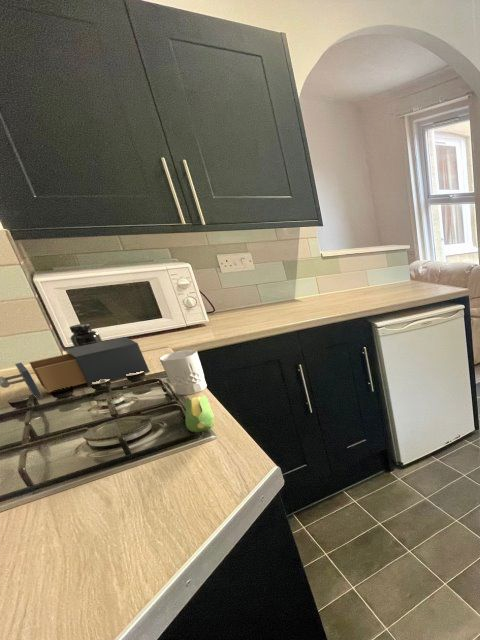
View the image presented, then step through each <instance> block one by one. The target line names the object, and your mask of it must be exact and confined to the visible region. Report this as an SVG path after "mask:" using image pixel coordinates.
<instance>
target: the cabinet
mask: <svg viewBox="0 0 480 640" xmlns="http://www.w3.org/2000/svg"><path fill="white" fill-rule="evenodd" d="M65 352H66V354H70V355H71V356H73V357H74V358H75V359H76V361H77V363H78V365H79V367H80V369H81V371H82V373H83V375H84V377H85V379H86V381H87V383H85V384H86V386H88V387H89V388H92V387H91V384H92V382H96V381H99V380H100V379H110V381H111V382H116V381H120V380H123V379H127V378H126V374H129V373H136V372H140V371H144V372H145V373H144V374H146V373H149V372H150V369H149V367H148V364H147V362H146V360H145V357H144V355H143V353H142V350H141V348H140V346H139V343H138V342H137V341H135V340H132V339H130V338H128V337H126V336H122V337H117V338H113V339H107V340H104V341H103V340H102V342H98V343H93V344H88V345H84V346H79V347H74V346H73V347H71V348H66V349H65ZM111 382H110V383H111Z"/></svg>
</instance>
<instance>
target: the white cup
mask: <svg viewBox="0 0 480 640" xmlns="http://www.w3.org/2000/svg"><path fill="white" fill-rule="evenodd" d="M159 361H160V364H161V366H162V367H163V369H164V372H165V374H166V376H167V378H168V380H169V382H170V384H171V385H172V387H173V389H174V392H175V393H176V394H177V395H178V396H188V395H189V396H190V395H192V394H197V393H199V392H202V391H204V390H206V389H207V386H208V384H207V382H206V379H205V373H204V370H203V366H202V364H201V360H200V357H199V354H198V350H195V349H184V350H178V351H177V350H176V351H172V352H169V353H167V354H163V355H162V356H160V357H159Z"/></svg>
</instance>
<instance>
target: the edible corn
mask: <svg viewBox="0 0 480 640" xmlns="http://www.w3.org/2000/svg"><path fill="white" fill-rule="evenodd" d="M184 403H185V417H184V418H185V419H184V420H185V426H186V429H187V430H188V431H189V432H191V433H203V432H205V431H207V430H210V429H211V428H213V427H214V421H215V415H214V411H213V409H212V407H211V405H210V402H209V399H208V396H207V395H202V396H194V397H191V398H189V397H186V398H185V402H184Z"/></svg>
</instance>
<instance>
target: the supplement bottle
mask: <svg viewBox="0 0 480 640" xmlns="http://www.w3.org/2000/svg"><path fill="white" fill-rule="evenodd" d="M69 330H70V333H72V335H71V336H70V341H71V343H72V345H73V348H74V347H79V346H84V345H88V344H93V343H98V342H103V340H102V337H101V335H100V333H99V332H97V331H95V330H93V328H92V326H91V324H90V323H89V322H87V323H79V324H74V325H71V326H69Z"/></svg>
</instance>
